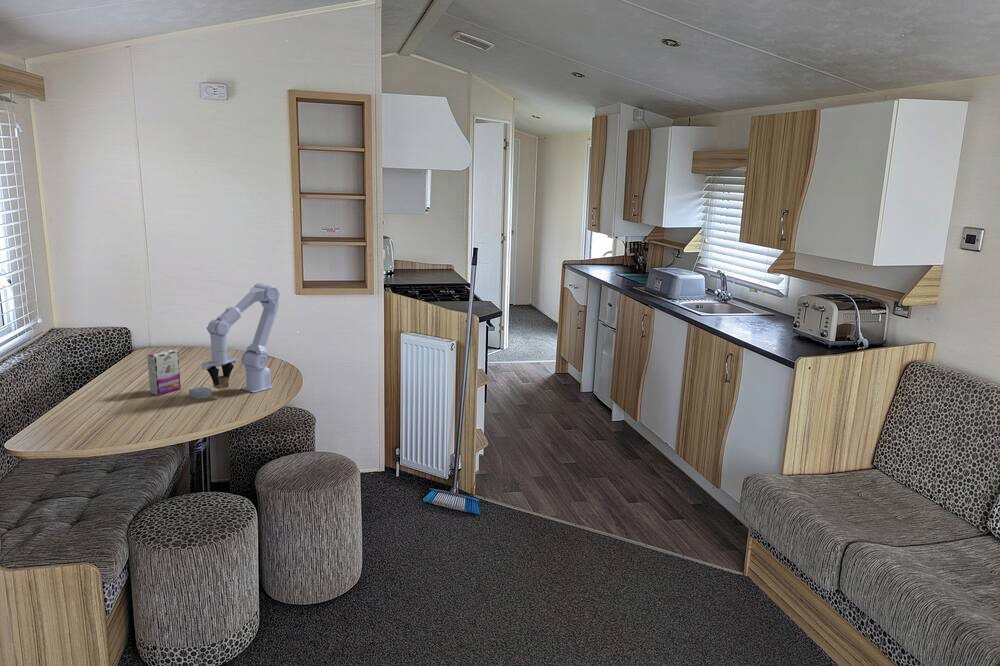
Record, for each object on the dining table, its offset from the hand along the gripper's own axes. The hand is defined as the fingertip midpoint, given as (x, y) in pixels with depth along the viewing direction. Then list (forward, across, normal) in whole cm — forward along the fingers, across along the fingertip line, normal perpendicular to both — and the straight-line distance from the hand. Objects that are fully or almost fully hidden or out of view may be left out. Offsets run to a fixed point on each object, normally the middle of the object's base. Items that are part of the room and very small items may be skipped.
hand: (220, 383), depth 281 cm
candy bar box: (+6, +10, -23) cm, 26 cm away
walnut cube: (+2, 0, 0) cm, 2 cm away
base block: (+6, +4, -8) cm, 11 cm away
